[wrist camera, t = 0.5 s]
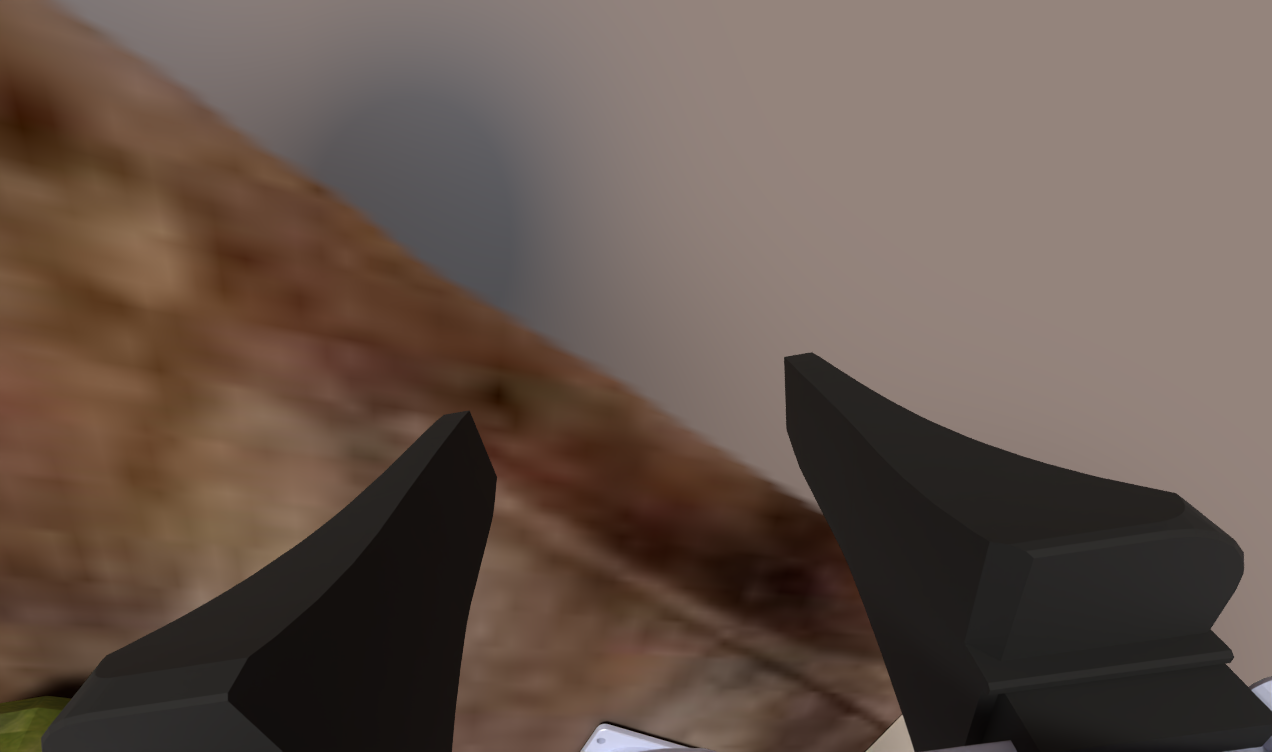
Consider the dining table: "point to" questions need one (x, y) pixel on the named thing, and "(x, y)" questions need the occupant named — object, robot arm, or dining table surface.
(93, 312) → the dining table surface
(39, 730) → the lettuce
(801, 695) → the dining table surface
